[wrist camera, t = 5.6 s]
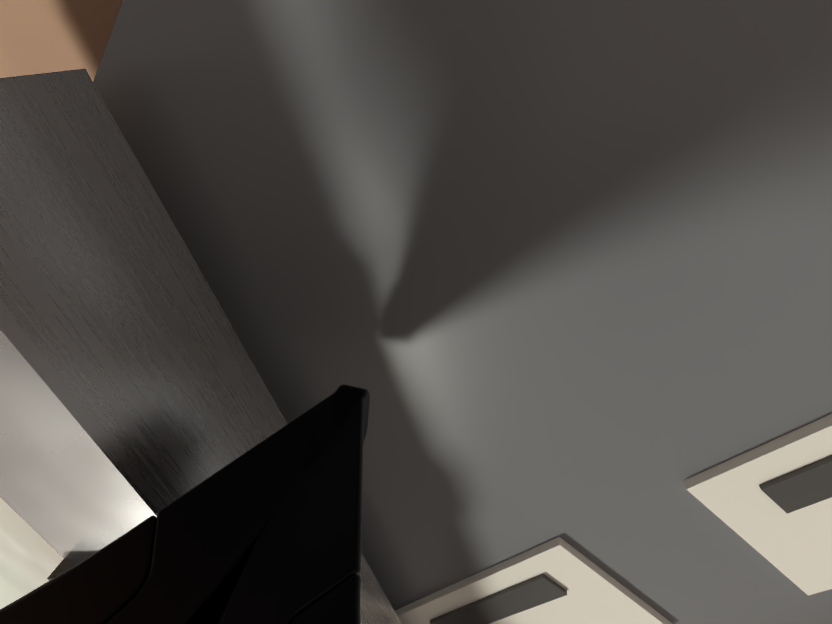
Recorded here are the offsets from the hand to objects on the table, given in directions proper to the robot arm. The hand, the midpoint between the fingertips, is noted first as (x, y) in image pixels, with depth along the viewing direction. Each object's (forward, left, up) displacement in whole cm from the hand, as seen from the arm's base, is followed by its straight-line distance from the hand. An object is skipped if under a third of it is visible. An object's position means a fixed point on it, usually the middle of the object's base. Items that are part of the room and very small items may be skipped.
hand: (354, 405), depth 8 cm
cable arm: (-5, -1, -1) cm, 5 cm away
